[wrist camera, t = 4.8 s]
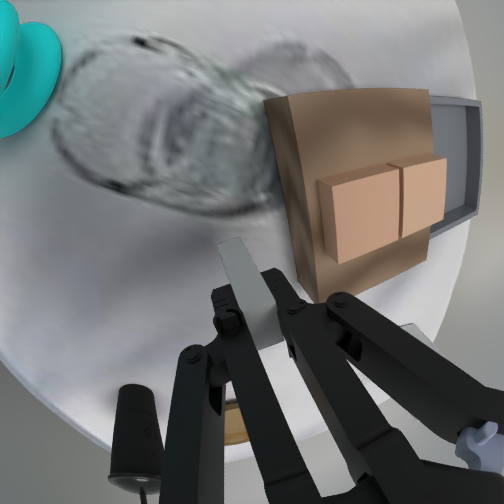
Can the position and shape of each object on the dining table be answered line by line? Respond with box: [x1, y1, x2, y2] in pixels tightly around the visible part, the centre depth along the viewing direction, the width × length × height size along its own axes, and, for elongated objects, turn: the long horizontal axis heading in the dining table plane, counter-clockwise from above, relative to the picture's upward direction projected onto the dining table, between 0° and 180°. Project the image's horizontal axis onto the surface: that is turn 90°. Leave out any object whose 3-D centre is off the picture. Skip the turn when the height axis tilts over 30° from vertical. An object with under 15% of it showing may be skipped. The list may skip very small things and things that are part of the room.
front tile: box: [317, 163, 399, 265], centre depth 19 cm, size 6×6×2 cm
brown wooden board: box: [263, 88, 434, 304], centre depth 22 cm, size 18×14×5 cm
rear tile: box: [386, 153, 447, 238], centre depth 20 cm, size 6×6×2 cm
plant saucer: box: [224, 402, 250, 446], centre depth 38 cm, size 15×15×3 cm
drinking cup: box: [108, 384, 164, 504], centre depth 22 cm, size 8×8×20 cm
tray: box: [429, 96, 483, 240], centre depth 25 cm, size 17×15×3 cm
